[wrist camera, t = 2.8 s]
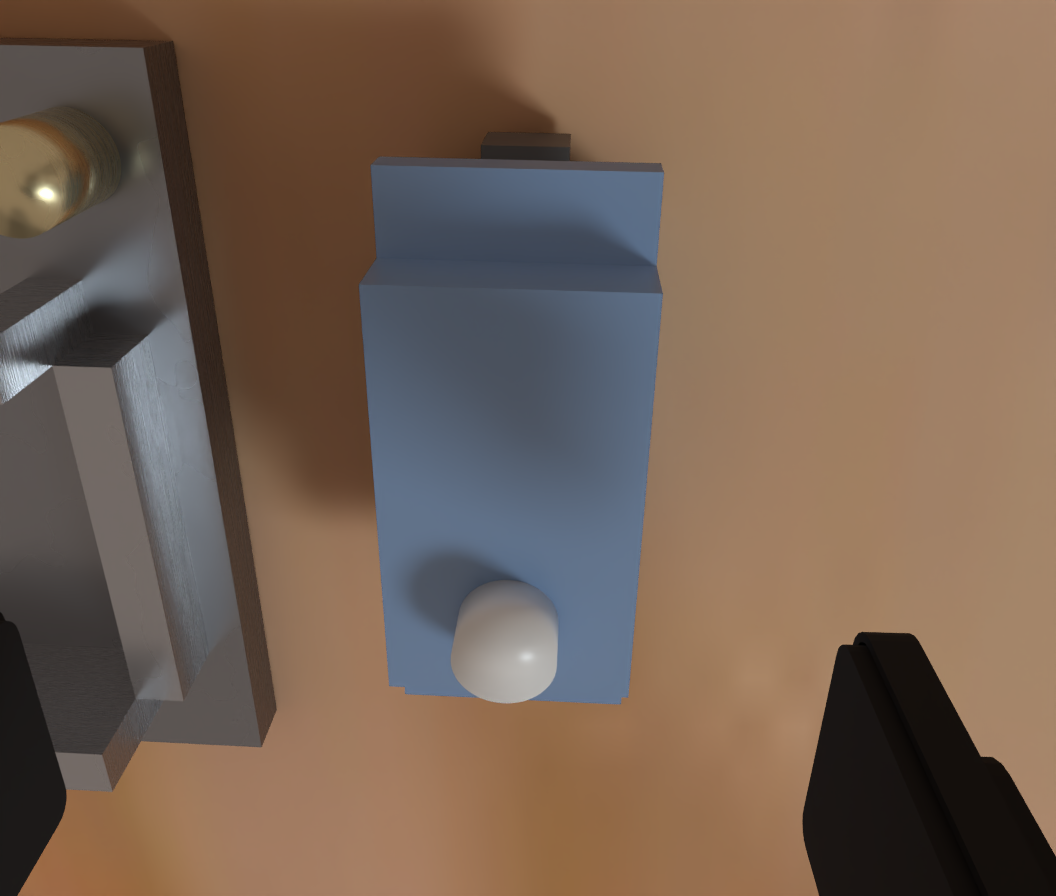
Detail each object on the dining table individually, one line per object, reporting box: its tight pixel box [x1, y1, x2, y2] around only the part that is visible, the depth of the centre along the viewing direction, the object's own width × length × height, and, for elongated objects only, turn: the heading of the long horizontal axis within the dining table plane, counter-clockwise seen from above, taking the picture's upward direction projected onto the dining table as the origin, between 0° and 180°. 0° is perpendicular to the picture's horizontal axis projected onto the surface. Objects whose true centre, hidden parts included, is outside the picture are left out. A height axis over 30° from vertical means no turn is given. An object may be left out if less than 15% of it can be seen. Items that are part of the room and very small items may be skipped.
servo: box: [359, 132, 664, 704], centre depth 16 cm, size 10×4×6 cm, turn 179°
